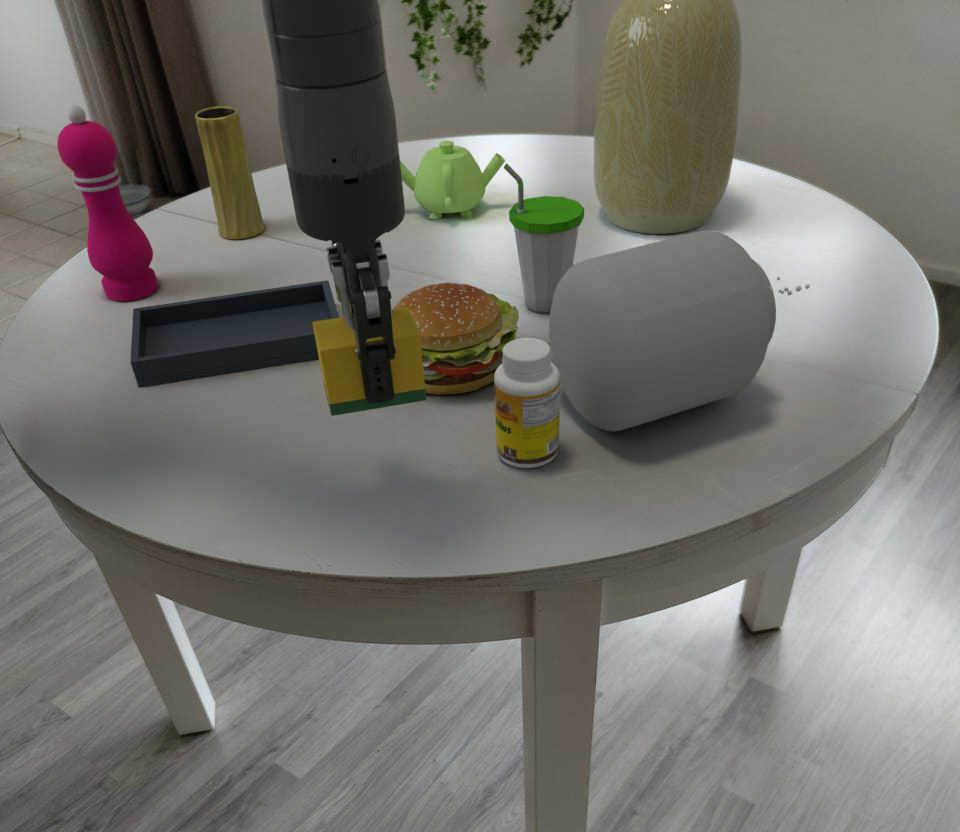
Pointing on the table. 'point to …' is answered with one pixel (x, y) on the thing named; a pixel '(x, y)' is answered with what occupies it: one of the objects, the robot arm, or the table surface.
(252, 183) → the vase
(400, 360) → the sponge
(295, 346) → the tray
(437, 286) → the food
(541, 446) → the supplement bottle
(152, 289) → the pepper mill
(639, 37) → the vase
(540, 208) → the cup
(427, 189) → the teapot
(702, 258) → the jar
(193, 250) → the table surface
